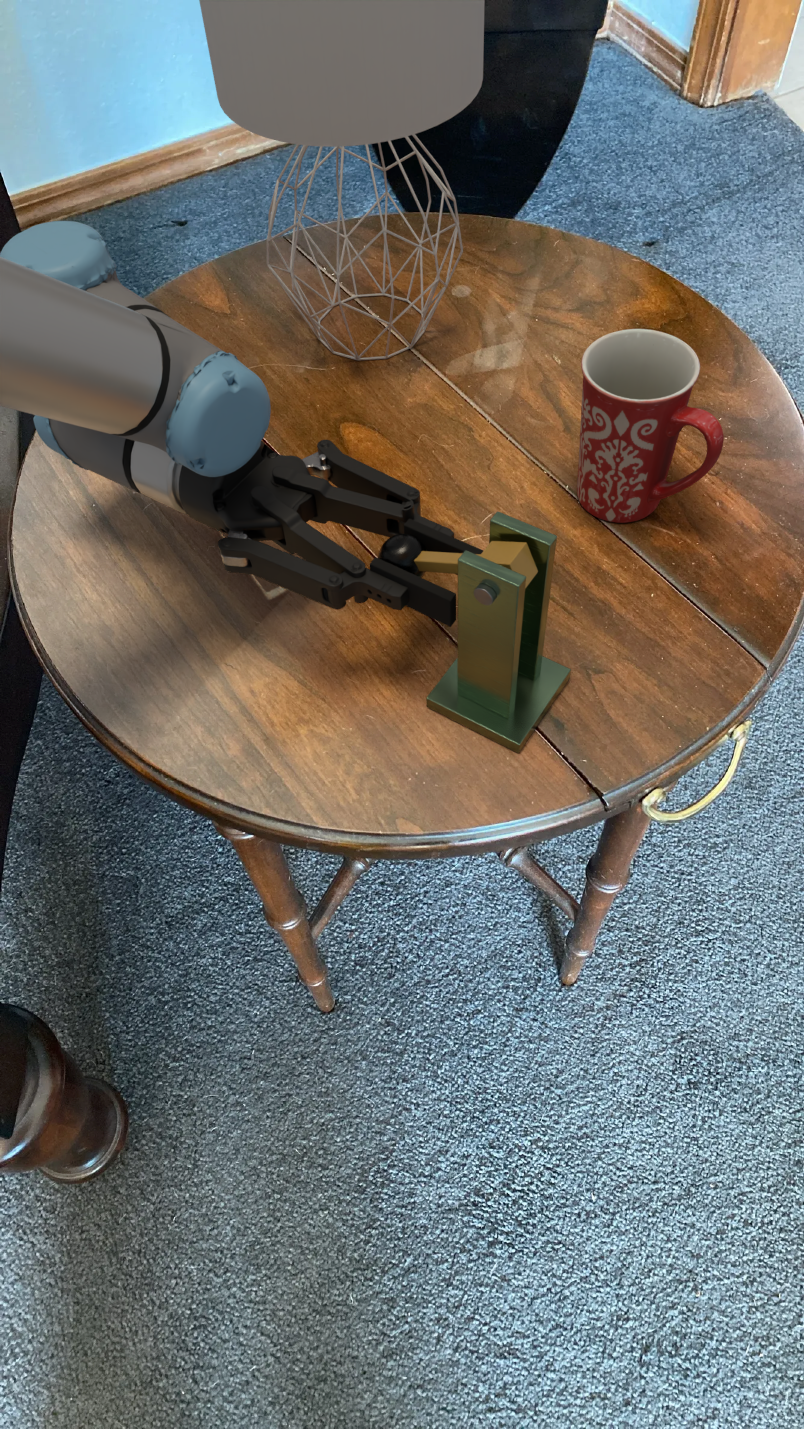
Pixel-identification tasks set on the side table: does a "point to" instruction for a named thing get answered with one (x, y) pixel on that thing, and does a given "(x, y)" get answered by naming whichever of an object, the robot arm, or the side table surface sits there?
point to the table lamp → (348, 103)
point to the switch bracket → (502, 642)
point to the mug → (637, 422)
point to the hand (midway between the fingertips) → (469, 589)
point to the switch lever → (454, 557)
